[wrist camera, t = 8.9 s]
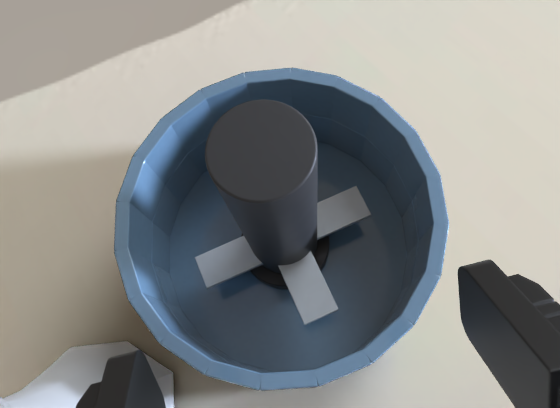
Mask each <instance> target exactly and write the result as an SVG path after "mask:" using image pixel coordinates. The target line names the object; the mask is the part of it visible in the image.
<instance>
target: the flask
mask: <svg viewBox="0 0 560 408" xmlns="http://www.w3.org/2000/svg"><path fill="white" fill-rule="evenodd" d="M136 350H139V349H138V348H136V347H135V346H133V345H132V344H130V343H129V342H128V341H123V342H114V343H104V344H95V345H85V346H75V347H70V348H69V349H68V350H67V351H65V352H64V353H63V354H62V355H61V356H60V357H59V358H58V359H57V360H56V361H55V362H54V363H53V364H52V365H51V366H49V367H48V368H47V369H46V370H45V371H44V372H43V373H41V374H40V375H39V376H38V377H36V378H35V379H34V380H33V381H32V382H30V383H29V384H28V385H27V386H25V387H24V388H23V389H22V390H20V391H19V392H16V393H14V394H12V395H9V396H7V397H5V398H1V397H0V408H76V405H77V403H78V401H79V400H80V399H81V397H82V396H83V394H84V393H85V392H86V390H87V389H88V388H89V386H90V385H91V384H94V383H98V382H101V381H102V377H103V373H104V370H105V366H106V363H107V360H108V359H109V358H110V357H113V356H117V355H120V354H124V353H128V352H132V351H136ZM143 353H144V352H143ZM144 355H145V356H146V359H147V361H148V363H149V365H150V367H151V369H152V372H153V374H154V376H155V378H156V380H157V382H158V385H159V387H160V389H161V391H162V394H163V397H164V401H165V406H166V408H174V386H173V372H171V371H170V370H168V369H167V368H166V367H164V366H163V365H161V364H160V363H158V362H157V361H155V360H154V359H152V358H151V357H149V356H148V355H147V354H145V353H144Z"/></svg>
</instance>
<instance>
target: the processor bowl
mask: <svg viewBox="0 0 560 408" xmlns="http://www.w3.org/2000/svg"><path fill="white" fill-rule="evenodd" d="M262 99H266V100H274V101H279V102H282V103H285V104H287V105H289V106H291V107H293V108H294V109H296V110H298V111H299V112H300V113H301V114H302V115H303V116H304V117H305V118H306V119H307V120H308V122H309V123H310V125H311V126H312V128H313V130H314V133H315V136H316V139H317V147H318V187H317V203H318V202H321V201H323V200H325V199H327V198H330V197H332V196H334V195H336V194H339V193H341V192H343V191H345V190H348V189H350V188H352V187H355V186H357V188H358V190H359V192H360V194H361V196H362V198H363V199H364V201H365V203H366V205H367V207H368V209H369V211H370V213H371V216H370V217H368V218H365V219H363V220H361V221H359V222H357V223H354V224H352V225H350V226H348V227H345V228H343V229H341V230H339V231H337V232H334V233H332V234H330V235H329V241H330V245H329V254H328V258H327V261H326V264H325V266H324V267H323V269H322V271H321V273H322V275H323V277H324V279H325V282H326V284H327V286H328V288H329V290H330V292H331V294H332V296H333V298H334V301H335V303H336V305H337V307H338V311H335V312H333V313H331V314H329V315H327V316H324V317H322V318H320V319H318V320H316V321H314V322H311V323H309V324H307V325H304V323H303V321H302V319H301V316H300V314H299V312H298V310H297V307H296V305H295V303H294V301H293V298H292V296H291V294H290V292H289V289H277V288H273V287H270V286H268V285H266V284H264V283H262V282H261V281H259V280H258V279H257V278H256V277H255V276H254V275H253V274H252V273H251V271H247V272H245V273H243V274H241V275H239V276H236V277H234V278H232V279H230V280H227V281H225V282H223V283H221V284H218V285H216V286H214V287H212V288H210V289H207V288H206V285H205V282H204V280H203V277H202V275H201V272H200V270H199V267H198V264H197V262H196V259H195V257H197V256H199V255H201V254H204V253H206V252H208V251H210V250H213V249H215V248H217V247H219V246H222V245H224V244H226V243H228V242H231V241H233V240H235V239H237V238H240V237H241V235H242V231H241V230H240V228H239V226H238V224H237V223H236V221H235V219H234V217H233V215H232V214H231V212H230V210H229V208H228V207H227V205H226V203H225V201H224V200H223V198H222V196H221V194H220V192H219V191H218V189H217V187H216V185H215V184H214V182H213V180H212V178H211V176H210V175H209V172H208V170H207V166H206V162H205V146H206V141H207V138H208V135H209V133H210V131H211V129H212V127H213V126H214V124H215V123H216V122H217V121H218V119H219V118H220V117H221V116H222V115H223V114H224V113H226V112H227V111H228V110H230V109H231V108H233V107H235V106H237V105H239V104H242V103H244V102H248V101H252V100H262ZM448 229H449V220H448V215H447V209H446V204H445V198H444V193H443V187H442V182H441V176H440V174H439V171H438V169H437V168H436V166H435V164H434V162H433V160H432V158H431V157H430V155H429V153H428V151H427V149H426V148H425V146H424V144H423V142H422V140H421V138H420V137H419V135H418V133H417V131H416V130H415V129H414V128H413V127H412V126H411V125H410V124H409V123H408V122H407V121H406V120H404V119H403V118H402V117H401V116H400V115H399V114H398V113H397V112H396V111H395V110H394V109H393V108H392V107H391V106H390V105H389V104H388V103H386V102H385V101H384V100H383V99H382V98H380V97H379V96H377V95H375V94H373V93H371V92H369V91H367V90H365V89H363V88H361V87H359V86H357V85H355V84H353V83H351V82H349V81H347V80H345V79H343V78H341V77H338V76H336V75H331V74H325V73H319V72H314V71H308V70H303V69H297V68H283V69H273V70H262V71H252V72H245V73H241V74H238V75H236V76H233V77H231V78H228V79H225V80H223V81H220V82H218V83H215V84H212V85H210V86H207V87H205V88H202V89H201V90H198V91H197V92H196V93H194V94H193V95H192V96H190V97H189V98H188V99H186V100H185V101H184V102H182V103H181V104H180V105H178V106H177V107H176V108H174V109H173V110H172V111H170V112H169V113H168V114H166V115H165V116H164V117H163V118H161V119H160V121H159V122H158V123H157V125H156V126H155V127H154V129H153V130H152V131H151V132H150V134H149V135H148V136H147V138H146V139H145V140H144V142H143V143H142V144H141V146H140V147H139V148H138V150H137V151H136V152H135V154H134V155H133V157H132V159H131V162H130V165H129V167H128V170H127V173H126V176H125V178H124V181H123V184H122V187H121V189H120V192H119V195H118V197H117V200H116V215H115V240H114V251H115V252H114V254H115V257H116V261H117V264H118V267H119V271H120V274H121V278H122V281H123V284H124V288H125V291H126V295H127V298H128V300H129V302H130V304H131V305H132V306H133V308H134V309H135V311H136V312H137V313H138V315H139V316H140V318H141V319H142V320H143V322H144V323H145V325H146V326H147V327H148V329H149V330H150V332H151V333H152V334H153V336H154V337H155V339H156V340H157V341H158V343H160V344H161V346H163V347H164V348H166V349H167V350H169V351H170V352H171V353H173V354H174V355H176V356H177V357H179V358H180V359H182V360H183V361H184V362H186V363H187V364H189V365H190V366H192V367H193V368H194V369H196V370H197V371H199V372H200V373H202V374H203V375H206V376H208V377H211V378H215V379H218V380H222V381H226V382H229V383H233V384H236V385H240V386H244V387H247V388H251V389H255V390H261V391H267V390H282V389H297V388H312V387H317V386H322V385H324V384H327V383H329V382H331V381H334V380H336V379H338V378H341V377H343V376H345V375H348V374H350V373H353V372H355V371H357V370H360V369H362V368H364V367H367V366H369V365H371V363H374V362H375V361H376V360H377V359H378V358H379V357H381V356H382V355H383V354H384V353H385V352H386V351H387V350H388V349H389V348H390V347H392V346H393V345H394V344H395V343H396V342H397V341H398V340H399V339H400V338H401V337H403V336H404V335H405V334H406V333H407V332H408V331H409V330H410V329H411V328H412V327H413V326H414V325H415V324H416V322H417V320H418V318H419V316H420V315H421V313H422V311H423V309H424V307H425V305H426V304H427V302H428V300H429V298H430V296H431V294H432V292H433V291H434V289H435V287H436V285H437V283H438V281H439V279H440V276H441V273H442V267H443V260H444V254H445V248H446V242H447V235H448Z"/></svg>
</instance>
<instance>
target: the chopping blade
mask: <svg viewBox="0 0 560 408" xmlns="http://www.w3.org/2000/svg"><path fill="white" fill-rule="evenodd" d="M205 162H206V166H207V170H208V172H209V175H210V176H211V178H212V180H213V182H214V184H215V185H216V187H217V189H218V191H219V192H220V194H221V196H222V198H223V200H224V201H225V203H226V205H227V207H228V208H229V210H230V212H231V214H232V215H233V217H234V219H235V221H236V223H237V224H238V226H239V228H240V230H241V231H242V235H241V237H240V238H237V239H235V240H233V241H231V242H228V243H226V244H224V245H222V246H219V247H217V248H215V249H213V250H210V251H208V252H206V253H204V254H201V255H199V256H197V257H195V259H196V262H197V264H198V267H199V270H200V272H201V275H202V277H203V280H204V282H205V285H206V288H207V289H210V288H212V287H214V286H216V285H218V284H221V283H223V282H225V281H227V280H230V279H232V278H234V277H236V276H239V275H241V274H243V273H245V272H247V271H251V273H252V274H253V275H254V276H255V277H256V278H257V279H258V280H259V281H261V282H262V283H264V284H266V285H268V286H270V287H273V288H277V289H289V292H290V294H291V296H292V298H293V301H294V303H295V305H296V307H297V310H298V312H299V314H300V316H301V319H302V321H303V323H304V325H307V324H309V323H311V322H314V321H316V320H318V319H320V318H322V317H324V316H327V315H329V314H331V313H333V312H335V311H338V307H337V305H336V303H335V301H334V298H333V296H332V294H331V292H330V290H329V288H328V286H327V284H326V282H325V279H324V277H323V275H322V273H321V271H322V269H323V267H324V266H325V264H326V261H327V258H328V254H329V245H330V241H329V235H330V234H332V233H334V232H337V231H339V230H341V229H343V228H345V227H348V226H350V225H352V224H354V223H357V222H359V221H361V220H363V219H365V218H368V217H370V216H371V213H370V211H369V209H368V207H367V205H366V203H365V201H364V199H363V198H362V196H361V194H360V192H359V190H358V188H357V186H355V187H352V188H350V189H348V190H345V191H343V192H341V193H339V194H336V195H334V196H332V197H330V198H327V199H325V200H323V201H321V202H318V203H317V187H318V147H317V139H316V136H315V133H314V130H313V128H312V126H311V125H310V123H309V122H308V120H307V119H306V118H305V117H304V116H303V115H302V114H301V113H300V112H299V111H298V110H296V109H294V108H293V107H291V106H289V105H287V104H285V103H282V102H279V101H274V100H266V99H262V100H252V101H248V102H244V103H242V104H239V105H237V106H235V107H233V108H231V109H230V110H228V111H227V112H226V113H224V114H223V115H222V116H221V117H220V118H219V119H218V121H217V122H216V123H215V124H214V126H213V127H212V129H211V131H210V133H209V135H208V138H207V141H206V146H205Z"/></svg>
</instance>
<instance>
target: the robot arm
mask: <svg viewBox="0 0 560 408" xmlns="http://www.w3.org/2000/svg"><path fill="white" fill-rule="evenodd" d="M458 284H459V298H460V312H461V320H462V323H463V327H464V329H465V332H466V334H467V336H468V338H469V340H470V341H471V343H472V344H473V346H474V347H475V349H476V350H477V352H478V353H479V355H480V356H481V358H482V359H483V361H484V362H485V364H486V365H487V366H488V368H489V369H490V371H491V372H492V374H493V375H494V377H495V378H496V380H497V381H498V383H499V384H500V386H501V387H502V389H503V390H504V392H505V393H506V394H507V396H508V397H509V399H510V400H511V402H512V403H513V405H514V406H515V408H560V305H559V304H558V303H557V302H554V299H553V298H552V297H551V296H550V295H549V294H548V293H547V292H546V291H545V290H544V289H543V288H542V287H541V286H540V285H539V284H537V283H535V282H533V281H531V280H529V279H527V278H525V277H523V276H521V275H519V274H516V275H513V276H509V277H507V276H506V275H505V274H504V272H503V271H502V270H501V269H500V268H499V267H498V266H497V265H496V264H495V263H494V262H493V261H492V260H485V261H481V262H477V263H473V264H470V265H466V266H462V267H459V269H458ZM76 408H166V406H165V401H164V397H163V394H162V391H161V389H160V387H159V385H158V382H157V380H156V378H155V376H154V374H153V372H152V369H151V367H150V365H149V363H148V361H147V359H146V356H145V355H144V353H143V352H142V351H141V350H136V351H132V352H128V353H124V354H120V355H117V356H113V357H110V358H109V359H108V360H107V363H106V366H105V370H104V373H103V377H102V381H101V382H98V383H94V384H91V385H90V386H89V388H88V389H87V390H86V392H85V393H84V394H83V396H82V397H81V399H80V400H79V401H78V403H77V405H76Z"/></svg>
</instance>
